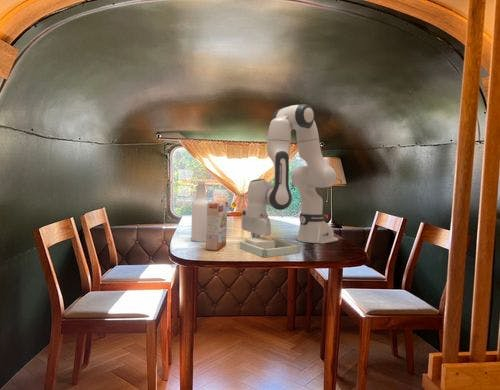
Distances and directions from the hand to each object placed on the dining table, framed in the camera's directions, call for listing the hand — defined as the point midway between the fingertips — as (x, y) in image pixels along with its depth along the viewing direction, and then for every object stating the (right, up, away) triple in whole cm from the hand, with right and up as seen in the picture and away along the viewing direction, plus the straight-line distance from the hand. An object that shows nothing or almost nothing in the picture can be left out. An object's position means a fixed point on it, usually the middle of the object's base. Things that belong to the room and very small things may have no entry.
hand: (255, 242), depth 161 cm
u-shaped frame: (+6, -2, -9) cm, 11 cm away
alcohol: (-27, -1, +10) cm, 29 cm away
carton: (+2, -3, -7) cm, 8 cm away
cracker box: (-18, -2, -5) cm, 19 cm away
